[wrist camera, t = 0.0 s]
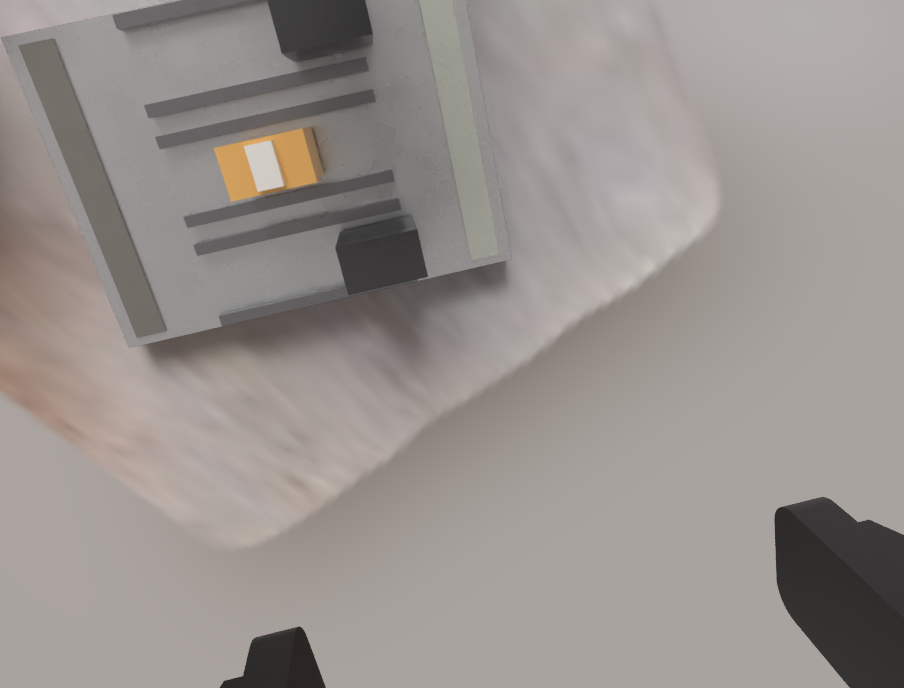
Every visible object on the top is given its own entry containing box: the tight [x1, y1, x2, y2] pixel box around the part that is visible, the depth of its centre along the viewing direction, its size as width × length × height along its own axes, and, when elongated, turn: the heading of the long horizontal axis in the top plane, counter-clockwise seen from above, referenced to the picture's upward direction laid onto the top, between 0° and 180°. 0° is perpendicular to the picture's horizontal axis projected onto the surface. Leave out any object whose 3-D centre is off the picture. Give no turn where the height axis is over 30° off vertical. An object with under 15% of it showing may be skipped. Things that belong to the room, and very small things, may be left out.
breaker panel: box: [1, 0, 512, 348], centre depth 32 cm, size 16×22×7 cm
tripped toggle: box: [214, 127, 324, 202], centre depth 31 cm, size 2×4×5 cm, turn 102°
